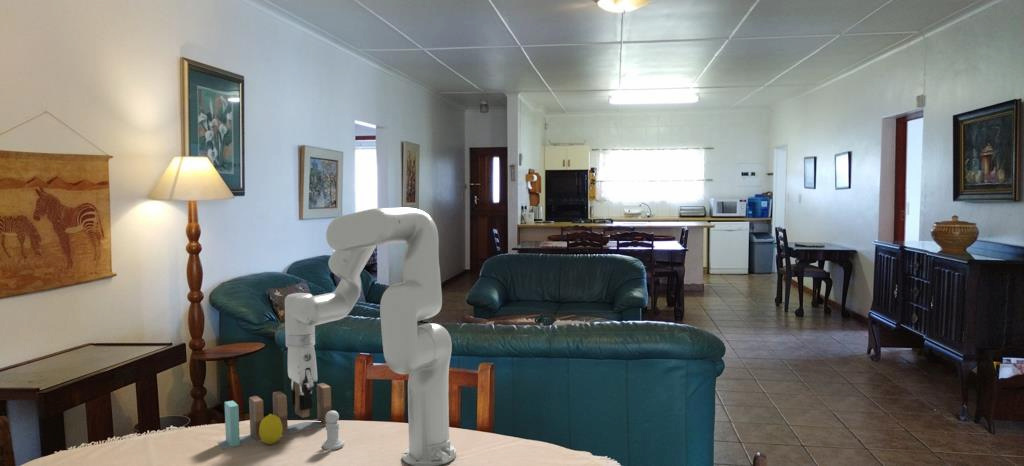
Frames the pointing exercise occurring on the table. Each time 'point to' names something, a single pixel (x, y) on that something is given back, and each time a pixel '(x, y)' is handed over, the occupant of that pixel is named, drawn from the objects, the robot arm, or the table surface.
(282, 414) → the domino
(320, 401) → the domino
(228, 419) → the domino end
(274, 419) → the lemon
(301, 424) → the grey flat board
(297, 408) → the domino
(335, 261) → the robot arm
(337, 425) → the chess piece
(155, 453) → the table surface
